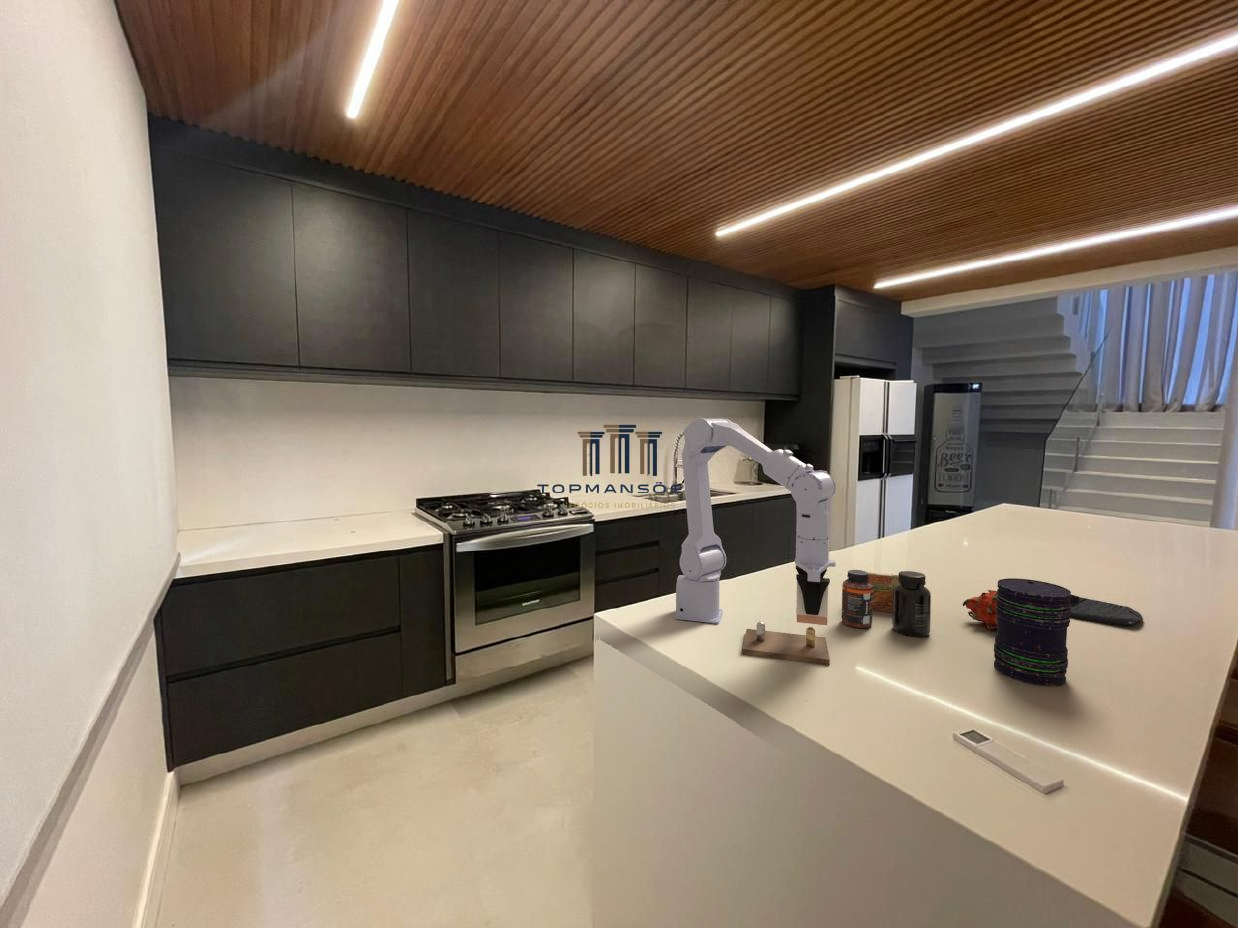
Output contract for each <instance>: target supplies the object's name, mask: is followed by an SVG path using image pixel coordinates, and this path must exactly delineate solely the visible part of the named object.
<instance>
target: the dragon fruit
mask: <svg viewBox="0 0 1238 928" xmlns="http://www.w3.org/2000/svg"><path fill="white" fill-rule="evenodd" d="M996 596H997V590H994V589H993V590H992V589H987V592H981V594H980V595H979V596H974V597H971V598H967V599H965V600H964V601H963V602H962V607H965V608H966V609H967V610H970V611H968V612H967V613H968V616H969V617H971V618H972V620H975V621H977V622H980V623H983V625H985V626H986V628H987V629H988V630H991V631H992V630H997V621H998V615H997V613H996V607H997V603H996Z"/></svg>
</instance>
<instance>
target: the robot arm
mask: <svg viewBox="0 0 1238 928" xmlns="http://www.w3.org/2000/svg"><path fill="white" fill-rule="evenodd" d="M683 433H684V434H683V436H684V445H683V449H682V453H681V460H682V461H681V462H682V472H683V473H682V474H683V483H684V485H683V486H684V495H685V505H686V517H687V528H688V529H687V530H688V534H687V536H686V538H685V539H684V541H683V542H682V544H681V545H680V546H681V554H680V556H679V567H680V570H681V572H682V575H681V574H680V575H678V576H677V579H676V585H675V588H676V589H675V617H674V618H675V620H683V621H691V622H699V623H700V622H702V623H709V624H719V623H720V621H721V618H722V615H723V612H724V609H722V608H720V576H721V575H722V570H724V568H725V567H726V564H727V556H726V553H725V550H724V548H723V546H722V545H723V543H722V539H721V538H720V537H719V536H718V535H717V534H716V533H715V530H714V520H713V510H712V509H713V508H712V498H711V488H710V485H711V484H710V476H709V464H708V462H709V461H710V460H711V459H712V458H713V457H714V455H716V453H718V452H719V451H722V450H723V449H724V448H727V447H732V448H734V449H735V450H737V451H738V452H740V453H742V454H744V455H745V456H747V457H749V458H751V459H752V460H753V461H755V462H757V463H759V464H761V466H762V470H763V473H764V475H766V476H768V477H769V478H770V479H772V480H773V481H775V482H776V483H778V484H779V485H781V486H782V487H783V488H785V489H786V490H788V491H789V492H790V493H791V496H792V498H793V500H794V501H795V503H796V530H795V531H796V532H795V533H796V534H795V535H796V536H795V558H794V564H795V569H796V570H795V571H796V572H797V574H796V575H795V576H796V578H795V579H796V583H797V582H798V584H799V586H800V588H801V591H802V595H803V601H804V608H805V612H806V614H809V615H818V614H819V611H820V607H821V602H822V598H823V595H824V592H825V590H826V588H827V587H828V588H829V585H830V582H831V580H830V578H829V577H824V576H825V575H826V573H827V572H828V568H830V567H833V568H834V567H836V561H835V560H833V559H831V560H830V559H829V558H830V557H829V555H830V521H831V520H830V518H831V517H830V516H831V514H830V511H831V509H830V508H831V507H830V506H831V499H832V498H833V497H834V495H835V493H836V488H837V487H836V483H835V480H834V478H833V477H832V475H830V474H829V473H828V471H826V470H821V469H820V470H814V466H813V465H812V464H810V463H807V464H806V463H804V462H803V461H801V460H799V459H798V458H797V457H795V456H793V454H794V452H792V451H791V450H789V449H784V450H783V449H782V448H781V449H780V448H779V449H776V450H772V449H771V448H769V447H768V446H767V445H765V444H764V443H762V442H761V441H760V440H758V439H757V438H756V437H754V436H753V435H752V434H750V433H748V432H747V431H746V430H744V429H743V428H742V427H741V426H740V425H739V424H738V423H736V422H732V421H731V420H730V419H729V418H726V417H720V418H704V417H696V418H694V419H692V420H691V421H690V422H689V424H687V425H686V427H685V428H684V430H683Z"/></svg>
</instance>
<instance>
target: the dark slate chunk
mask: <svg viewBox="0 0 1238 928" xmlns="http://www.w3.org/2000/svg"><path fill="white" fill-rule="evenodd" d="M1070 601H1071V604H1070V607H1071V615H1070V618H1073V619H1074V618H1075V619H1081V620H1085V621H1091V622H1098V623H1101V624H1109V625H1113V626H1114V625H1117V626H1132V625H1135V624H1136V623H1138V622H1139V621H1140V622H1141V621H1142V619H1143V615H1142V614H1141V613H1140V612H1139V611H1138V610H1135V609H1133V608H1132V607H1129V606H1126V605H1120V604H1116V603H1111V602H1106V601H1101V600H1096V599H1090V598H1087V597H1081V596H1078V595H1075V594H1071V598H1070Z"/></svg>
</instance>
